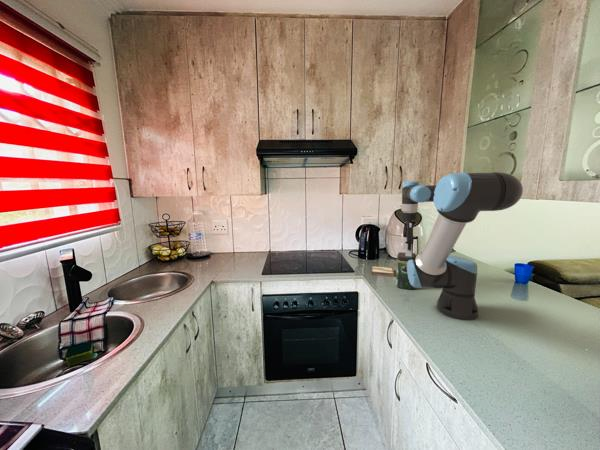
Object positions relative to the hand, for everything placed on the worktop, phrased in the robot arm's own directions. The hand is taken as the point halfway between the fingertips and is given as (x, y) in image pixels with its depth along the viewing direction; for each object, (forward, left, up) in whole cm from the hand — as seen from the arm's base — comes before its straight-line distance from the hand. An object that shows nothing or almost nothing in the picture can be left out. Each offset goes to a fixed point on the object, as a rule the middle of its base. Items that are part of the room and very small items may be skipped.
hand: (406, 252), depth 130 cm
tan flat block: (+19, +11, -19) cm, 29 cm away
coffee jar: (0, 0, -19) cm, 19 cm away
